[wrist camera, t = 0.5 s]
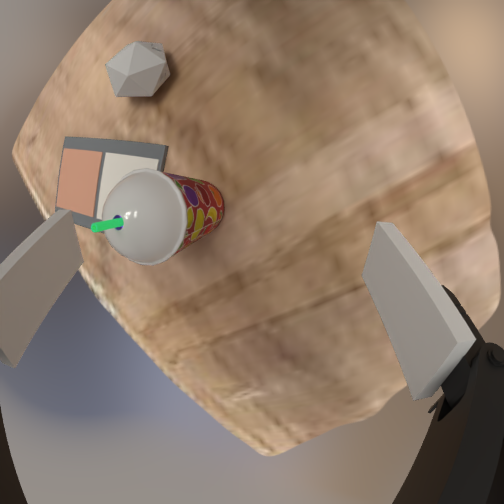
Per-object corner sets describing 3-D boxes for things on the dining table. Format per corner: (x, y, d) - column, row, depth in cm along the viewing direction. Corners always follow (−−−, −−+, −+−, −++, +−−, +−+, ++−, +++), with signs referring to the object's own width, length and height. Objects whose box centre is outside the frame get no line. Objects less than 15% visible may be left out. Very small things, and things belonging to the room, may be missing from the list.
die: (174, 106, 35) (173, 50, 26) (113, 119, 33) (100, 65, 24) (167, 73, 37) (167, 22, 28) (113, 84, 35) (104, 35, 26)
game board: (68, 137, 39) (64, 136, 38) (168, 146, 36) (164, 145, 35) (57, 216, 43) (53, 217, 42) (151, 246, 39) (147, 247, 38)
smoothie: (167, 229, 38) (54, 265, 19) (180, 168, 36) (65, 158, 17) (224, 247, 37) (135, 305, 18) (240, 182, 35) (154, 177, 16)
